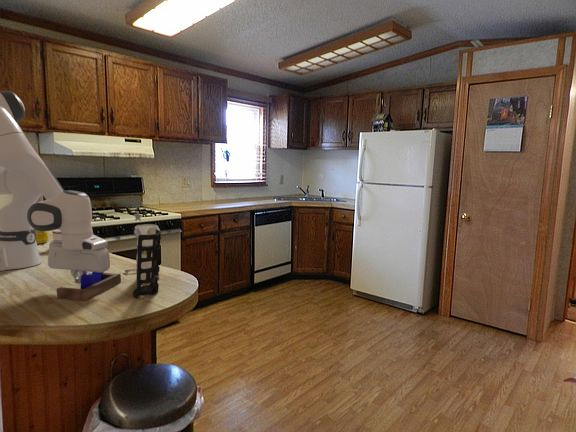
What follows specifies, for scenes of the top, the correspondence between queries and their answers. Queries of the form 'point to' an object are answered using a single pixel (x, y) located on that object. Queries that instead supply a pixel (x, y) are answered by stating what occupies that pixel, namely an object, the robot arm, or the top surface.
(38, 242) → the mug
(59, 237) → the teacup with lid
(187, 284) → the top surface
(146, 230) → the water bottle
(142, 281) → the holder
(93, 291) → the bracket
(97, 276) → the cable clip
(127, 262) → the top surface
